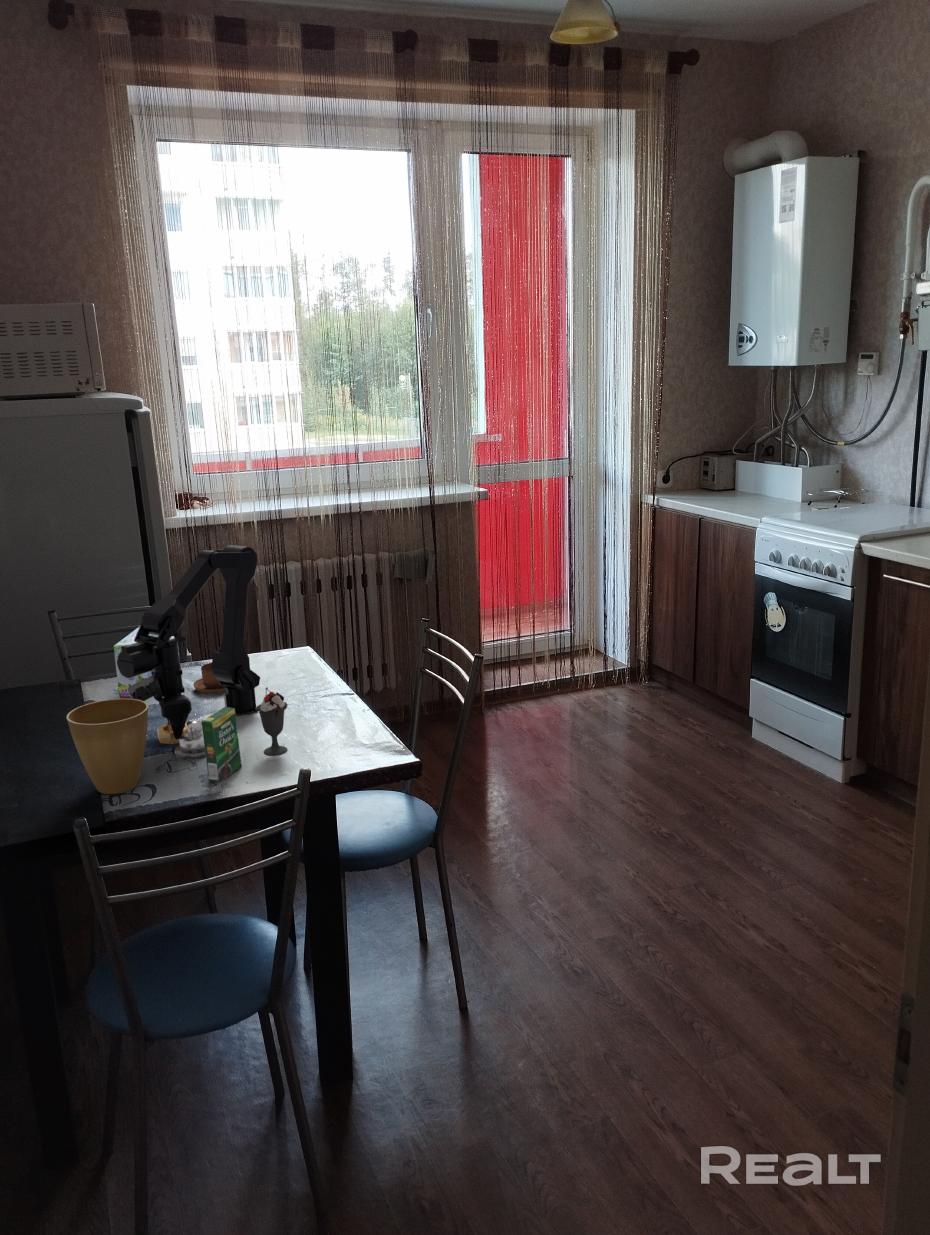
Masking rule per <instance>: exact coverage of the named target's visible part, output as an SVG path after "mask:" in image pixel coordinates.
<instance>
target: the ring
mask: <svg viewBox="0 0 930 1235" xmlns="http://www.w3.org/2000/svg"><path fill="white" fill-rule="evenodd" d="M187 722H188V721H186V724H185V727H184V730H183V733H182V736H183V735H185V734H188V731H187ZM156 730H157V738H158V739H157V740H158V741H159V743H160V744H166V745H175V744H180V742H179V739H175V736H174V733H173V731H172V728H171V725H170V723H168V722H166V723H163V724H162V725H160V726H158V727H157V728H156Z"/></svg>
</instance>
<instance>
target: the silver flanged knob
mask: <svg viewBox="0 0 930 1235" xmlns="http://www.w3.org/2000/svg"><path fill="white" fill-rule="evenodd" d="M186 722H187V731H188V734H185V735H183V736H181V737H180V739H179V742H180V743H179V745H178V746H177V747H175V749H174V755H175V756H176V757H177V758H180V759H187V760H191V759H200V758H206V753H205V746H204V738H203V731H202V723H201V720H200V719H191V720H187V721H186Z"/></svg>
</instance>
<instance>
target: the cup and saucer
mask: <svg viewBox="0 0 930 1235" xmlns="http://www.w3.org/2000/svg"><path fill="white" fill-rule="evenodd" d="M211 665H212V662H208V663H206V664H203V665H201V666H200V669H201V678H199V679H196V680H195V681H194V683H193V688H194V689H195V690H196V691H198V692H201V693H207V694H214V693H215V694H216V693H224V692H226V688H225V686H221V685H220V683H219V681H218V679H216V677H215V676H214V675H213V669H211Z"/></svg>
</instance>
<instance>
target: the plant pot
mask: <svg viewBox="0 0 930 1235" xmlns="http://www.w3.org/2000/svg"><path fill="white" fill-rule="evenodd" d="M66 720H67V724H68V727H69V732H70V734H71V737H72V740H73V743H74V745H75V748H76V751H77V753H78V755H79V758H80V761H81V762H82V764H83V767H84V769H85V771H86V773H87V775H88V776H89V779H90V780H91V781H92V784H93V785H94V786H95V788H96V790H97V791H98V792H99V793H100V794H102V795H103V794H104V795H116V794H123V793H127V792H129V791H131V790H132V789H134V788H136V786H137V785H138V782H139V781H138V780H139V778H140V774H141V770H142V765H143V762H144V761H143V760H144V756H145V751H146V743H147V734H148V724H149V723H148V721H149V705H148V703H147V702H146V701H141V700H137V699H120V698H111V699H104V700H98V701H97V700H96V701H93V702H90V703H87V704H84V705H81V706H77V707H76V708H74V709H72V710H70V712H68V713H67V715H66Z"/></svg>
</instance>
